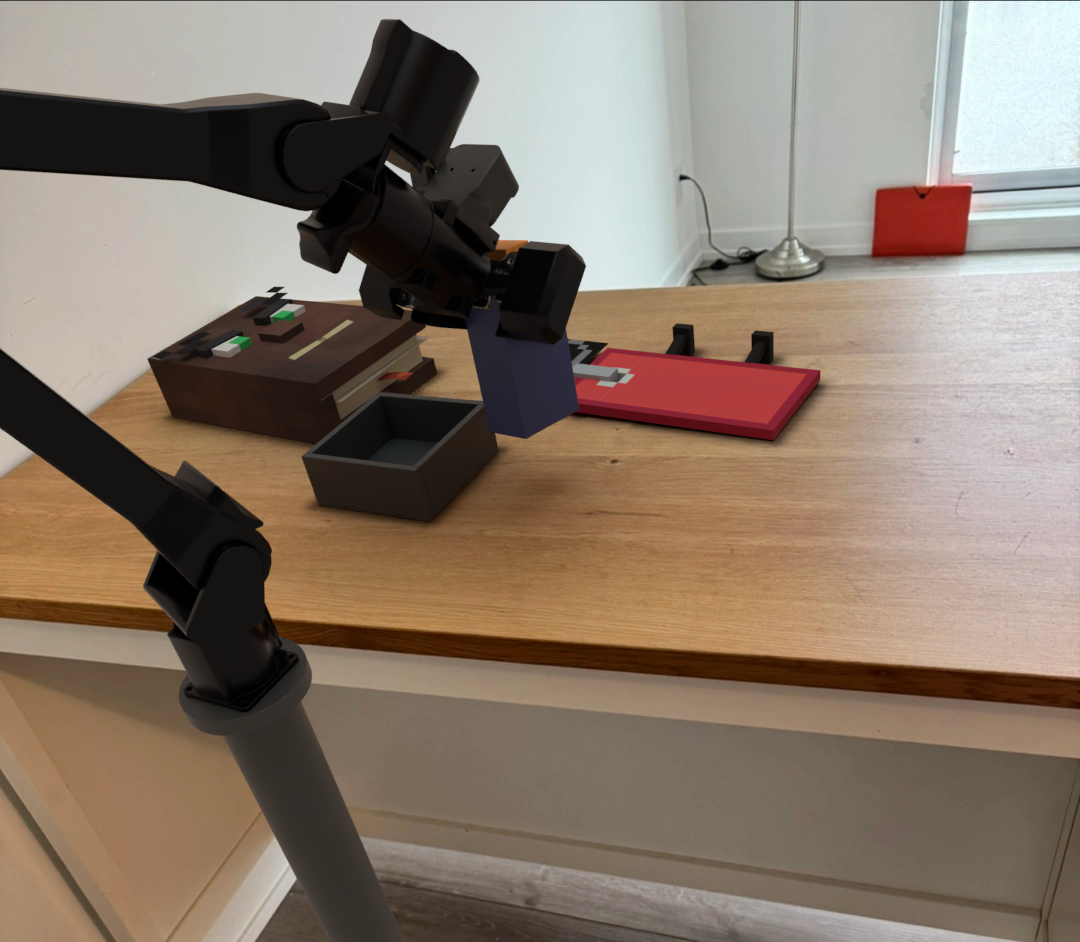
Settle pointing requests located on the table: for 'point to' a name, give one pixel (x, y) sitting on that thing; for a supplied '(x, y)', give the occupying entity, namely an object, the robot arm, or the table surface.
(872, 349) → the table surface
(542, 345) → the block
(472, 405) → the bin
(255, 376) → the decorative book
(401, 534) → the table surface
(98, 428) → the robot arm
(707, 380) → the red board with handle
